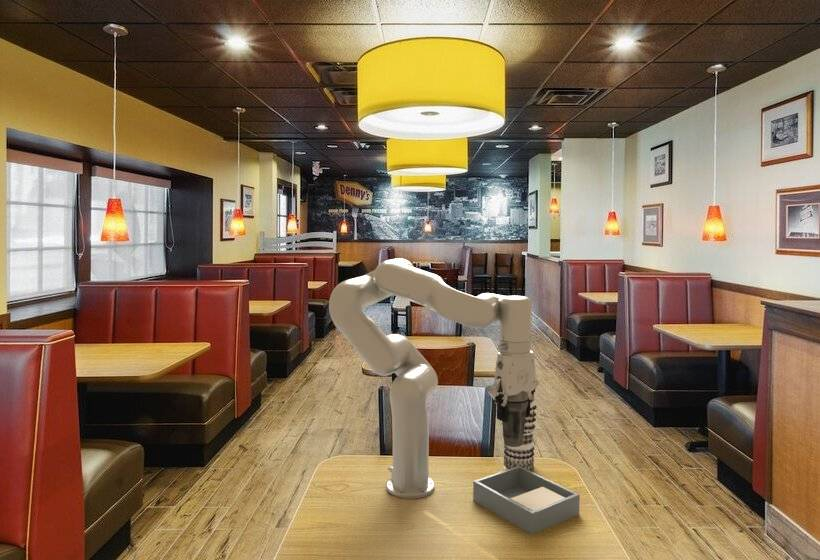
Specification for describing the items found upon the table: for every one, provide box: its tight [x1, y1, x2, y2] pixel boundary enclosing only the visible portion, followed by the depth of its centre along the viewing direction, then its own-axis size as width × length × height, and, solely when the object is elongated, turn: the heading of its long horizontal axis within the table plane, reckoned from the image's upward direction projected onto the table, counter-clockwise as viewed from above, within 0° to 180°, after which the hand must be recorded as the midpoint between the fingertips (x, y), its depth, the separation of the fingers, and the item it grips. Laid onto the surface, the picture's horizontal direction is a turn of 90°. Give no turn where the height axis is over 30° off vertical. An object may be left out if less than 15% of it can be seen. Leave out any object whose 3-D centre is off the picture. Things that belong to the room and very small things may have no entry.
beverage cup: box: [501, 391, 529, 447], centre depth 148 cm, size 7×7×20 cm
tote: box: [472, 466, 581, 536], centre depth 147 cm, size 20×16×6 cm
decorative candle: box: [503, 393, 538, 471], centre depth 170 cm, size 9×9×25 cm
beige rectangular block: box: [511, 487, 565, 511], centre depth 144 cm, size 8×11×4 cm
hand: (513, 416), depth 149 cm, fingers closed on beverage cup, 7 cm apart
